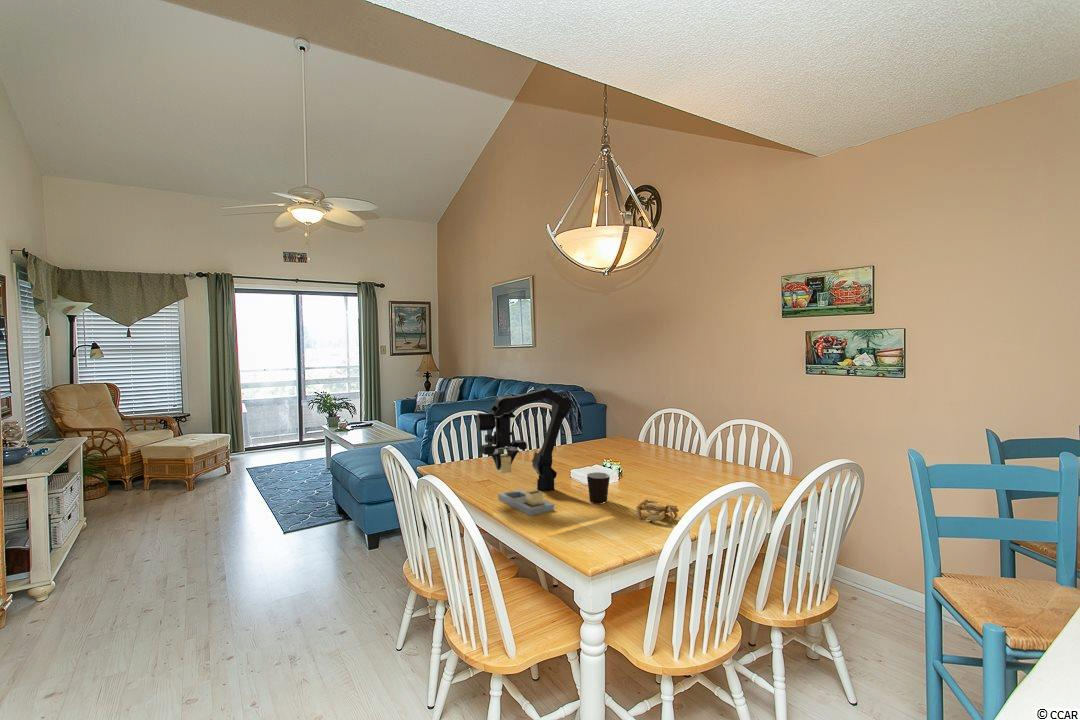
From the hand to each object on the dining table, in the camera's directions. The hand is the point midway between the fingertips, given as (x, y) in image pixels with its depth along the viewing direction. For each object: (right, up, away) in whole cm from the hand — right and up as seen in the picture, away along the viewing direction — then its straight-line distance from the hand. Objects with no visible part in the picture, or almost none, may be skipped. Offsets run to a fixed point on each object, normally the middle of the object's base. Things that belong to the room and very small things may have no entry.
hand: (503, 468), depth 198 cm
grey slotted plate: (+9, -11, -12) cm, 19 cm away
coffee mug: (+36, -11, -7) cm, 38 cm away
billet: (0, -1, 0) cm, 1 cm away
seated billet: (+12, -11, -17) cm, 24 cm away
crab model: (+54, -12, -23) cm, 60 cm away
